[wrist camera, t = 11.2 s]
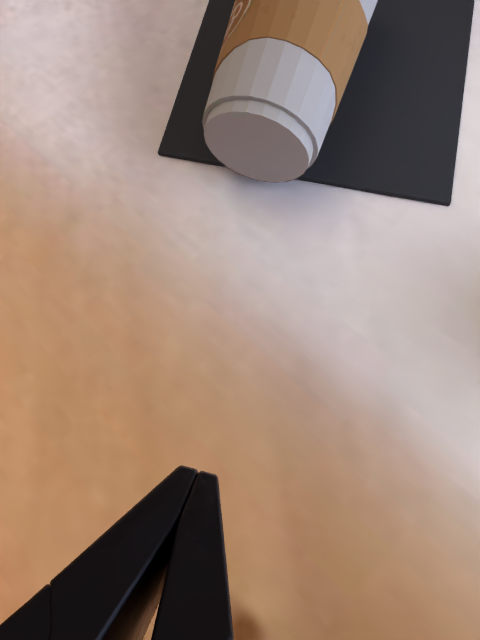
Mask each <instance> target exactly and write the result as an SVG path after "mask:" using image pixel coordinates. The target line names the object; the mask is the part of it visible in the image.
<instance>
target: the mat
mask: <svg viewBox="0 0 480 640" xmlns="http://www.w3.org/2000/svg"><path fill="white" fill-rule="evenodd" d="M234 2H235V0H209V3H208V6H207V9H206V12H205V15H204V18H203V21H202V24H201V27H200V30H199V33H198V36H197V38H196V41H195V44H194V47H193V50H192V53H191V56H190V59H189V62H188V65H187V68H186V71H185V74H184V77H183V80H182V83H181V86H180V88H179V91H178V94H177V97H176V100H175V103H174V106H173V109H172V112H171V115H170V118H169V121H168V124H167V127H166V130H165V133H164V136H163V138H162V141H161V144H160V147H159V150H158V154H159V155H162V156H168V157H174V158H179V159H185V160H191V161H196V162H202V163H208V164H213V165H219V166H225V167H227V166H226V165H224V164H223V163H222V162H220V161H219V160H218V159H217V158H216V157H215V156H214V155H213V153H212V152H211V151H210V149H209V148H208V146H207V144H206V142H205V138H204V128H203V124H202V120H203V115H204V111H205V107H206V104H207V101H208V97H209V94H210V90H211V87H212V83H213V76H214V71H215V67H216V64H217V60H218V57H219V54H220V50H221V47H222V43H223V40H224V37H225V33H226V30H227V26H228V23H229V20H230V16H231V13H232V9H233V6H234ZM473 6H474V0H379V1H378V2H377V4H376V6H375V9H374V12H373V14H372V17H371V19H370V22H369V24H368V28H367V34H366V37H365V39H364V42H363V44H362V47H361V49H360V52H359V55H358V57H357V60H356V62H355V65H354V67H353V70H352V73H351V75H350V78H349V80H348V83H347V85H346V88H345V91H344V93H343V96H342V98H341V101H340V103H339V106H338V109H337V111H336V114H335V116H334V119H333V121H332V123H331V124H330V126H329V127H328V130H327V133H326V135H325V138H324V140H323V143H322V145H321V148H320V151H319V153H318V156H317V158H316V160H315V161H314V163H313V164H312V165H311V167H309V168H308V169H306V171H305V172H304V174H303V175H301V176H300V177H298V178H296V179H299V180H304V181H310V182H316V183H321V184H327V185H333V186H338V187H344V188H350V189H356V190H361V191H367V192H373V193H378V194H384V195H390V196H395V197H401V198H407V199H412V200H418V201H424V202H429V203H435V204H441V205H446V206H449V205H450V203H451V195H452V186H453V178H454V169H455V160H456V152H457V143H458V135H459V126H460V118H461V109H462V101H463V92H464V83H465V75H466V66H467V58H468V49H469V41H470V32H471V24H472V15H473Z"/></svg>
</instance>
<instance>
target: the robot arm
mask: <svg viewBox="0 0 480 640" xmlns="http://www.w3.org/2000/svg"><path fill="white" fill-rule="evenodd" d="M159 601H160V603H159ZM158 604H159V607H158V612H157V616H156V621H155V625H154V629H153V634H152V638H151V640H234V636H233V626H232V616H231V605H230V595H229V585H228V575H227V564H226V554H225V544H224V534H223V523H222V513H221V503H220V493H219V483H218V477H217V475H215V474H212V473H208V472H204V471H200V472H199V473H198V471H197V470H196V469H194V468H190V467H186V466H179V467H178V468H176V469H175V470H174V471H173V472H172V473H171V474H170V475H168V476H167V477H166V478H165V479H164V480H163V481H162V482H161V483H160V484H158V485H157V486H156V487H155V488H154V489H153V490H152V491H151V492H150V493H148V494H147V495H146V496H145V497H144V498H143V499H142V500H141V501H139V502H138V503H137V504H136V505H135V506H134V507H133V508H132V509H131V510H129V511H128V512H127V513H126V514H125V515H124V516H123V517H122V518H121V519H119V520H118V521H117V522H116V523H115V524H114V525H113V526H112V527H110V528H109V529H108V530H107V531H106V532H105V533H104V534H103V535H102V536H100V537H99V538H98V539H97V540H96V541H95V542H94V543H93V544H91V545H90V546H89V547H88V548H87V549H86V550H85V551H84V552H83V553H81V554H80V555H79V556H78V557H77V558H76V559H75V560H74V561H73V562H71V563H70V564H69V565H68V566H67V567H66V568H65V569H64V570H62V571H61V572H60V573H59V574H58V575H57V576H56V577H55V578H54V579H52V580H51V582H50V585H49V584H47V585H45V586H44V587H43V588H42V589H41V590H40V591H39V592H38V593H37V594H35V595H34V596H33V597H32V598H31V599H30V600H29V601H28V602H26V603H25V604H24V605H23V606H22V607H21V608H19V609H18V610H17V611H16V612H15V613H14V614H12V615H11V616H10V617H9V618H8V619H7V620H5V621H4V622H3V623H2V624H1V625H0V640H143V638H144V635H145V633H146V631H147V629H148V626H149V624H150V622H151V619H152V617H153V615H154V613H155V610H156V608H157V606H158Z"/></svg>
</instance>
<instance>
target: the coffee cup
mask: <svg viewBox="0 0 480 640" xmlns="http://www.w3.org/2000/svg"><path fill="white" fill-rule="evenodd" d="M378 1H379V0H235V2H234V6H233V9H232V13H231V16H230V20H229V23H228V26H227V30H226V33H225V37H224V40H223V43H222V47H221V50H220V54H219V57H218V60H217V64H216V67H215V71H214V76H213V83H212V87H211V90H210V94H209V97H208V101H207V104H206V107H205V111H204V115H203V120H202V124H203V128H204V138H205V142H206V144H207V146H208V148H209V149H210V151H211V152H212V153H213V155H214V156H215V157H216V158H217V159H218V160H219V161H220V162H222V163H223V164H224V165H226V166H227V167H228V168H230V169H232V170H234V171H236V172H237V173H239V174H242V175H244V176H247V177H249V178H252V179H256V180H260V181H266V182H287V181H290V180H294V179H296V178H298V177H300V176H301V175H303V174H304V172H305V171H306V169H308V168H309V167H311V165H312V164H313V163H314V161H315V160H316V158H317V156H318V153H319V151H320V148H321V145H322V143H323V140H324V138H325V135H326V133H327V130H328V127H329V126H330V124H331V123H332V121H333V119H334V116H335V114H336V111H337V109H338V106H339V103H340V101H341V98H342V96H343V93H344V91H345V88H346V85H347V83H348V80H349V78H350V75H351V73H352V70H353V67H354V65H355V62H356V60H357V57H358V55H359V52H360V49H361V47H362V44H363V42H364V39H365V37H366V34H367V28H368V24H369V22H370V19H371V17H372V14H373V12H374V9H375V6H376V4H377V2H378Z"/></svg>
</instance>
